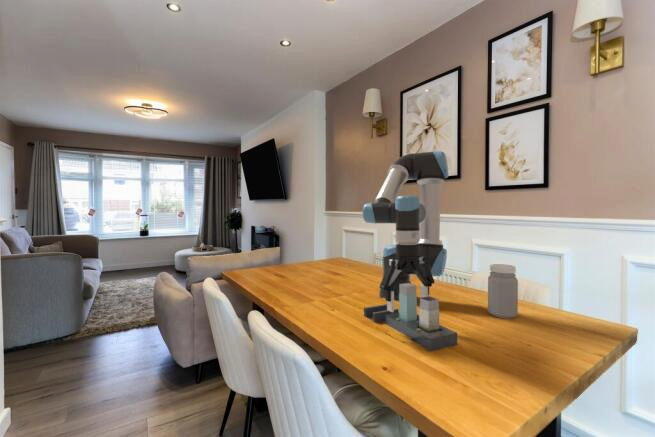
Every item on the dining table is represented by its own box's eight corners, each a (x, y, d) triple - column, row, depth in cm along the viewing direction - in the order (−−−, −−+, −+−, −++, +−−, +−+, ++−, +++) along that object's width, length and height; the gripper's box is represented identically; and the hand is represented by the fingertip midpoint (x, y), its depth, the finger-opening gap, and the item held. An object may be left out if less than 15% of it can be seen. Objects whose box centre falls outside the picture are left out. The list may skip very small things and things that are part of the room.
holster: (386, 313, 120) (386, 303, 120) (399, 319, 113) (399, 309, 113) (363, 317, 116) (363, 307, 116) (375, 324, 109) (375, 313, 109)
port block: (408, 320, 112) (408, 285, 112) (457, 344, 92) (457, 301, 92) (384, 325, 108) (384, 288, 108) (430, 351, 88) (430, 306, 87)
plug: (409, 324, 107) (408, 282, 107) (416, 328, 103) (416, 285, 103) (399, 326, 106) (399, 284, 105) (406, 330, 102) (406, 286, 101)
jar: (520, 314, 117) (521, 265, 117) (514, 321, 110) (514, 269, 109) (492, 308, 124) (492, 262, 123) (483, 315, 117) (484, 266, 116)
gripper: (381, 246, 95) (382, 317, 96) (445, 242, 105) (445, 306, 106) (368, 244, 102) (369, 310, 103) (429, 240, 112) (429, 300, 113)
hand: (407, 308), depth 104 cm, fingers open, 13 cm apart
